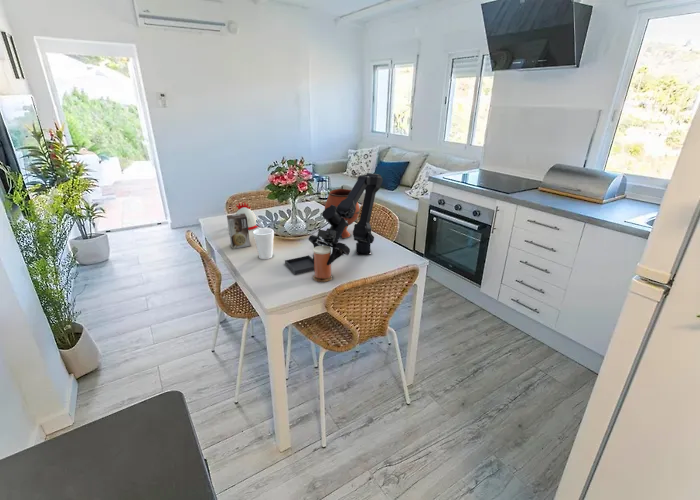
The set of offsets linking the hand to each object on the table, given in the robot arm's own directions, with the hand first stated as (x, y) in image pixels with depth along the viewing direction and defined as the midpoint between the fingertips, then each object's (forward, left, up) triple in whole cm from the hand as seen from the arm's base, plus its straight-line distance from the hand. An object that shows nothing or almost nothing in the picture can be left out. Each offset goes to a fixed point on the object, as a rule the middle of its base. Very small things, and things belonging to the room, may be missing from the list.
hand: (320, 262), depth 145 cm
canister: (-1, -1, -6) cm, 6 cm away
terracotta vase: (-13, -50, -8) cm, 53 cm away
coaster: (-1, -1, -8) cm, 8 cm away
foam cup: (+26, -24, -8) cm, 37 cm away
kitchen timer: (+43, -68, -8) cm, 81 cm away
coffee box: (+41, -39, -8) cm, 57 cm away
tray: (+8, -12, -8) cm, 17 cm away
